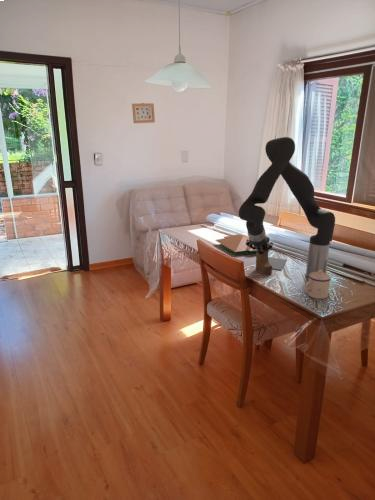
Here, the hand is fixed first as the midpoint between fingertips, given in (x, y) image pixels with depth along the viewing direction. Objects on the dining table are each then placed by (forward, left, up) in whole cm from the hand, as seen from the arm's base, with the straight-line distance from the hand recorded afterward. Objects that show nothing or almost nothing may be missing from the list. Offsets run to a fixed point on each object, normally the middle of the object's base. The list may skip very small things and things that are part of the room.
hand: (261, 252), depth 177 cm
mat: (-2, -23, -13) cm, 26 cm away
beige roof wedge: (+22, -44, -13) cm, 51 cm away
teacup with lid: (-27, +10, -13) cm, 32 cm away
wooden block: (0, -9, -13) cm, 16 cm away
